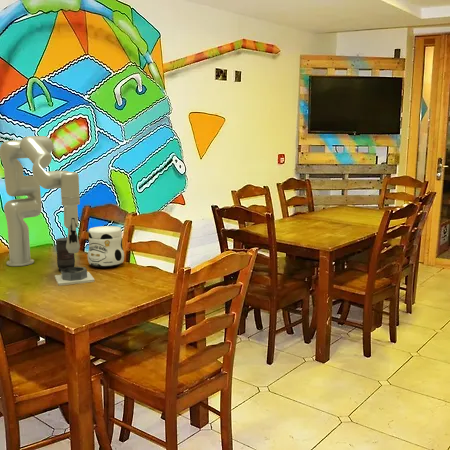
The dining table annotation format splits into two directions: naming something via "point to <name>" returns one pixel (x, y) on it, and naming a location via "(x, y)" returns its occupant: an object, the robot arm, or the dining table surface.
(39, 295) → the dining table surface
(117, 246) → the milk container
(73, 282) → the holder board
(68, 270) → the holder ring
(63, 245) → the camera lens
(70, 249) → the salt shaker
